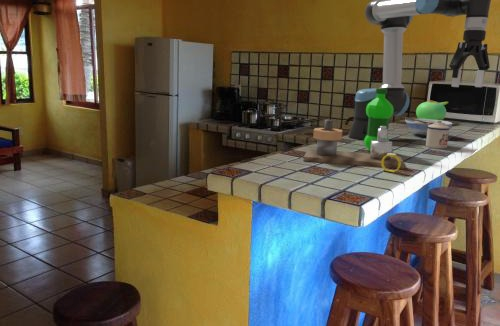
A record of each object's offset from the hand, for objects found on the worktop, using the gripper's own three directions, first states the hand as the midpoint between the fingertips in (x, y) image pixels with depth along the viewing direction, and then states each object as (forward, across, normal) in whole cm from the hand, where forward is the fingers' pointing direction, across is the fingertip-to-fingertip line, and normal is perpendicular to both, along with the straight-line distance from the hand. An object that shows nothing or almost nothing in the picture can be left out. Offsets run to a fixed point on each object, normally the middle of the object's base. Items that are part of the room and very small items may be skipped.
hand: (466, 87), depth 169 cm
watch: (+27, -48, -12) cm, 57 cm away
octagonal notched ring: (+19, -56, +12) cm, 61 cm away
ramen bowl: (+27, +30, +42) cm, 58 cm away
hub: (+25, -42, 0) cm, 49 cm away
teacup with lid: (+27, +8, +16) cm, 32 cm away
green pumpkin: (+28, +78, +81) cm, 116 cm away
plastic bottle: (+27, -28, +16) cm, 42 cm away
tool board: (+27, -49, +6) cm, 56 cm away
